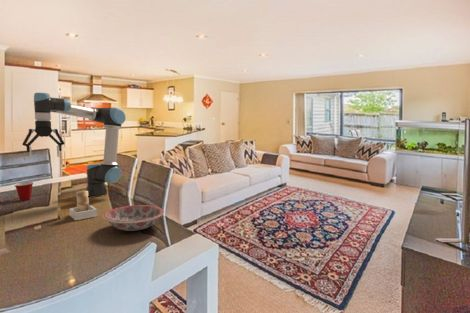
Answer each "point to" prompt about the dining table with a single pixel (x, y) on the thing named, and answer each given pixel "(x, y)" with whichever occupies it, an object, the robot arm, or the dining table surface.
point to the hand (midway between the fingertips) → (44, 157)
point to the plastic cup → (24, 190)
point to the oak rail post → (82, 201)
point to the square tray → (83, 213)
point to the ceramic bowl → (133, 217)
